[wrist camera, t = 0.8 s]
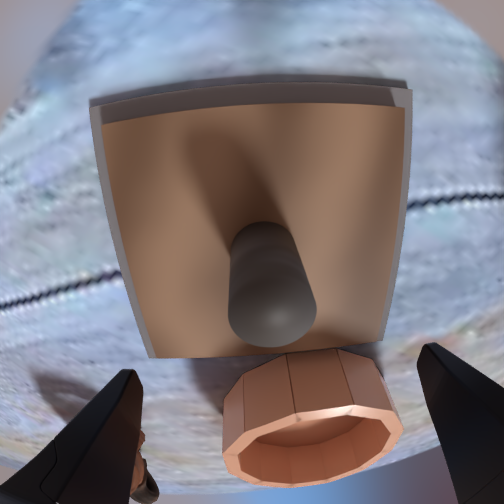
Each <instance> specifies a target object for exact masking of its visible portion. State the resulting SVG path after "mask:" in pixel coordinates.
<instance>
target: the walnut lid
mask: <svg viewBox="0 0 504 504" xmlns="http://www.w3.org/2000/svg"><path fill="white" fill-rule="evenodd" d="M101 129H102V137H103V144H104V150H105V157H106V163H107V169H108V175H109V180H110V186H111V191H112V196H113V201H114V206H115V211H116V216H117V220H118V225H119V229H120V234H121V238H122V242H123V246H124V250H125V254H126V258H127V262H128V266H129V270H130V274H131V277H132V281H133V285H134V288H135V292H136V295H137V299H138V302H139V305H140V309H141V312H142V315H143V319H144V322H145V325H146V328H147V331H148V334H149V337H150V340H151V343H152V346H153V349H154V352H155V355H156V358H209V357H232V356H249V355H264V354H277V353H288V352H298V351H308V350H317V349H326V348H334V347H342V346H349V345H356V344H363V343H370V342H376V341H377V337H378V333H379V329H380V324H381V320H382V315H383V310H384V305H385V300H386V295H387V290H388V284H389V279H390V273H391V267H392V261H393V254H394V247H395V240H396V233H397V225H398V216H399V207H400V197H401V186H402V173H403V157H404V133H405V108H402V107H394V106H383V105H368V104H349V103H268V104H249V105H234V106H222V107H211V108H201V109H193V110H184V111H177V112H169V113H163V114H156V115H150V116H144V117H138V118H132V119H127V120H122V121H117V122H112V123H107V124H103V125H101Z"/></svg>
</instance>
